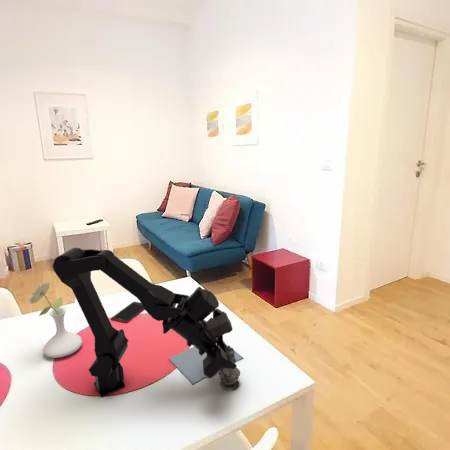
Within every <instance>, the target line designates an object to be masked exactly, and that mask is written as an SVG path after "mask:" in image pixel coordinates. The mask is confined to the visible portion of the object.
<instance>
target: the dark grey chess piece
mask: <svg viewBox="0 0 450 450" xmlns="http://www.w3.org/2000/svg"><path fill="white" fill-rule="evenodd" d="M234 351H235V350H234V347H232V346H230V345H228V347H227V348H226V354H227V355H228V356H229V358H230V359H231V360H232V361H233V362H234V363H235V362H236V359H235V357H234ZM236 363H237V362H236ZM236 363H235V364H236ZM240 376H241V371H240V369H239V368H238V367H236V368H235V369H229V368H221V369H220V370H219V371H218V377H219V378H220V382H219V386H220V388H221V389H222V390H224V391H227V392H234V391H236V390H237V389H238V388H239V387H240V381H239V378H240Z"/></svg>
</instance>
